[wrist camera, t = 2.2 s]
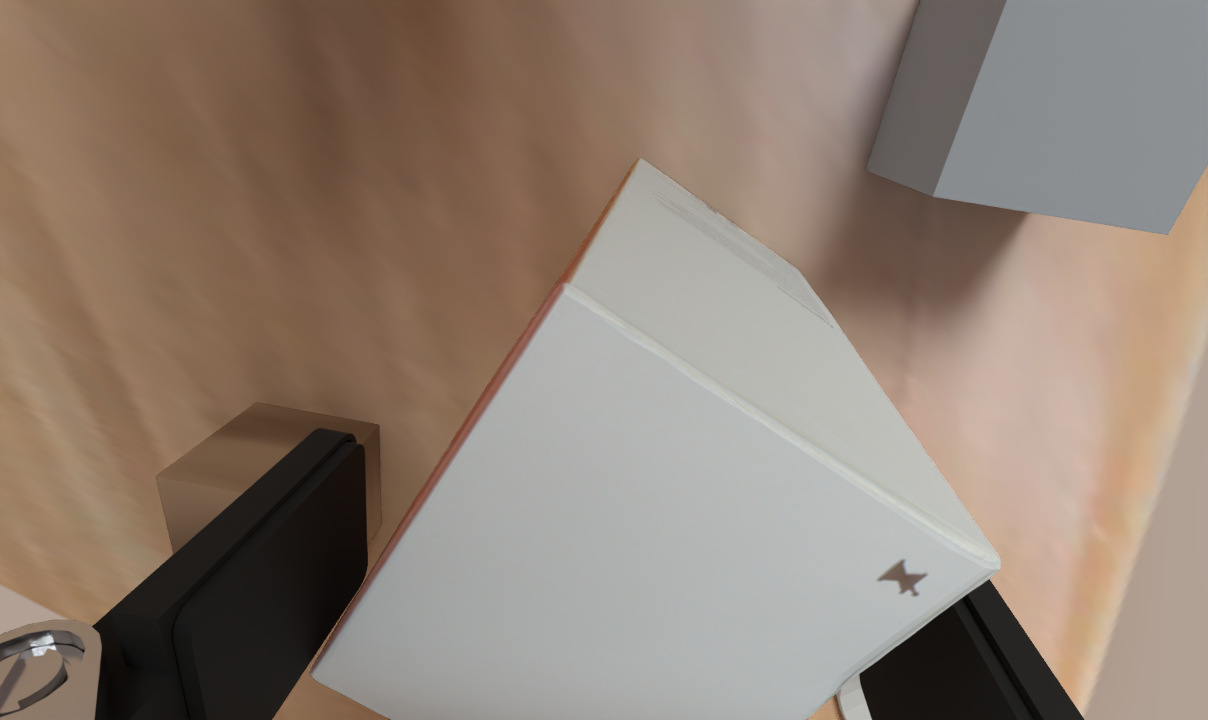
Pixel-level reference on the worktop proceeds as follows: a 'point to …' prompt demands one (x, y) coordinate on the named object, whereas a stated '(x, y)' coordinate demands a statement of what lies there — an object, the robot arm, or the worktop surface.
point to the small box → (661, 503)
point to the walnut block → (252, 465)
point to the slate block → (1053, 107)
